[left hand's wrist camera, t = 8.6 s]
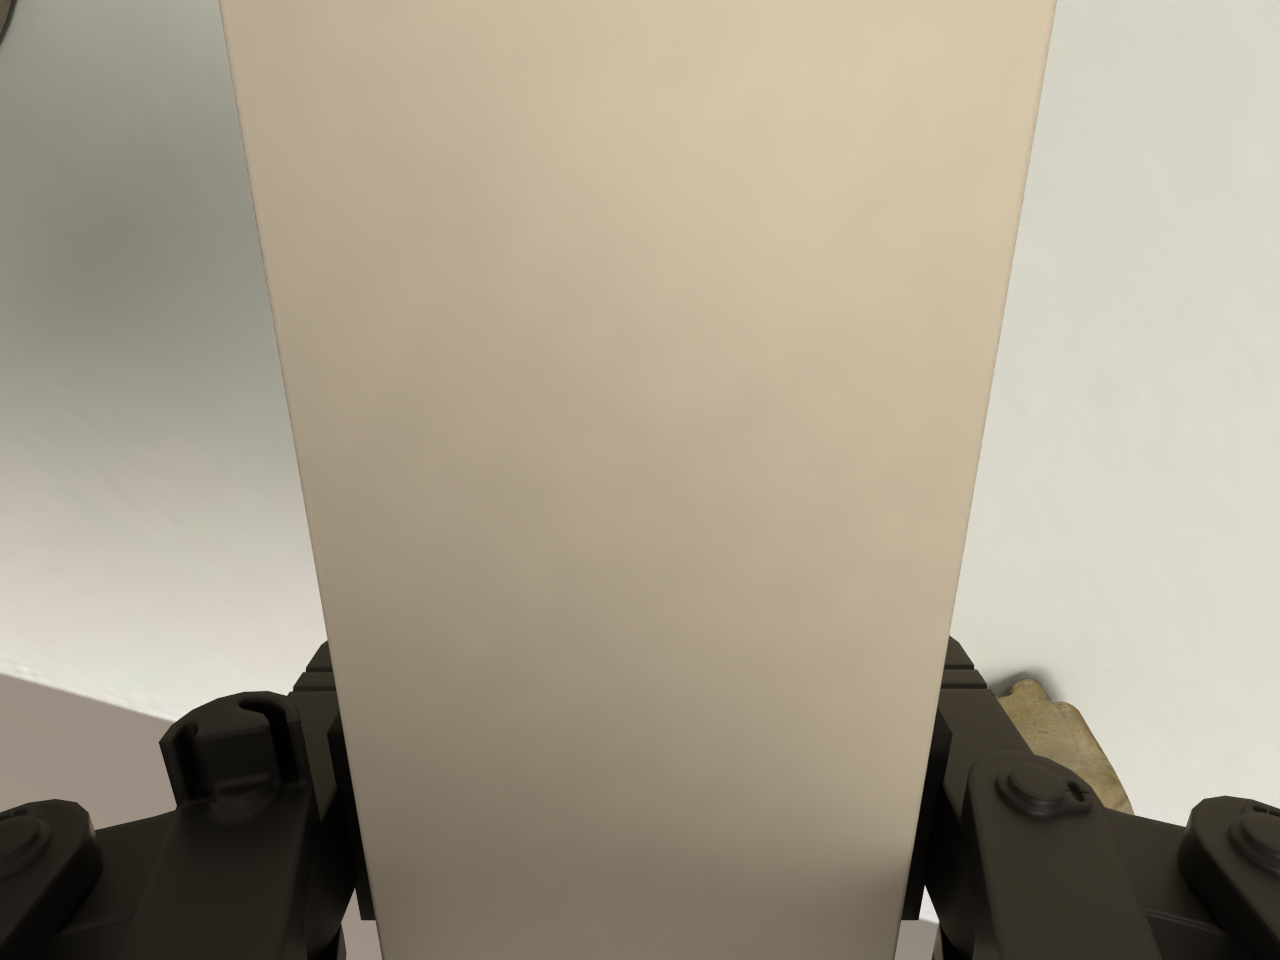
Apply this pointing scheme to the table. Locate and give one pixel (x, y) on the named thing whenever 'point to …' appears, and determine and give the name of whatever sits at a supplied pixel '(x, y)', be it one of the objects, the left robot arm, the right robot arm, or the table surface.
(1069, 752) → the sculpture
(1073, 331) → the table surface
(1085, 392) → the table surface
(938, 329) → the bar
